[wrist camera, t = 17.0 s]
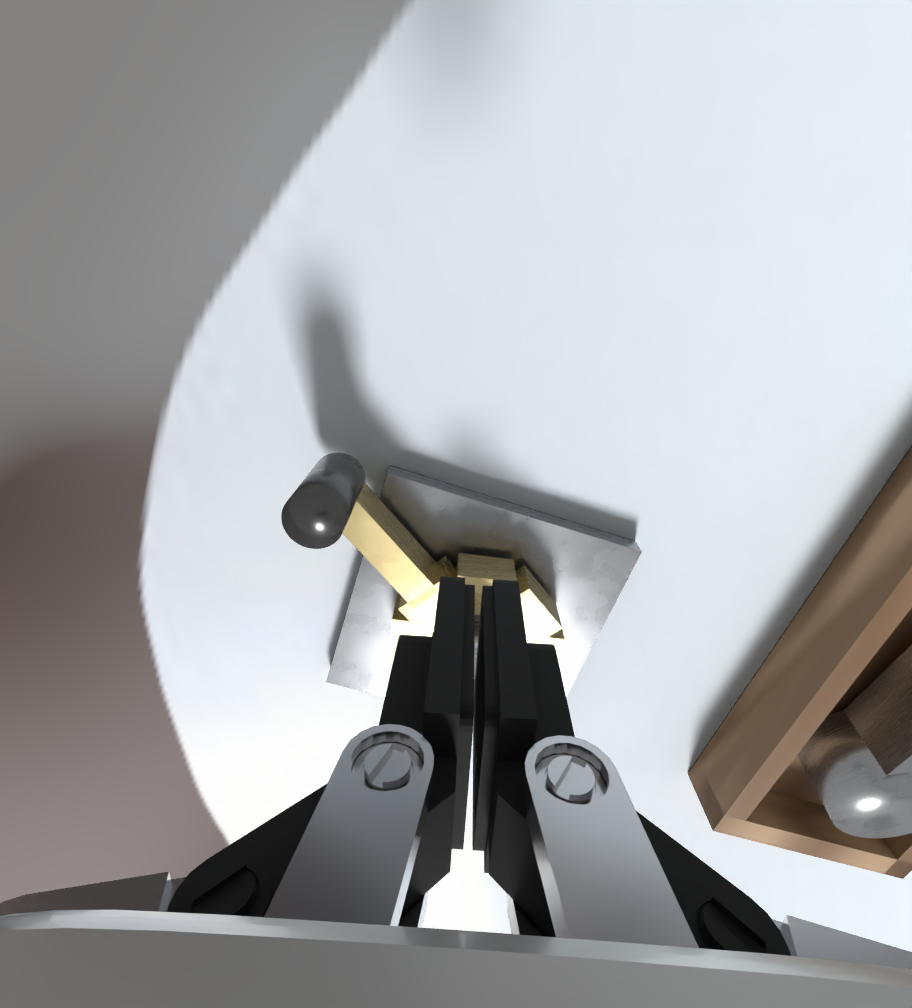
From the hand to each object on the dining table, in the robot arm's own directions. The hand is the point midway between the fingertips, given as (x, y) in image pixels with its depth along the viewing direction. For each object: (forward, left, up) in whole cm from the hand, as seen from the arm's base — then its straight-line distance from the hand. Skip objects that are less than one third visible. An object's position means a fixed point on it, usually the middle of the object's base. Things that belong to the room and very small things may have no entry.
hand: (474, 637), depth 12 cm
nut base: (-3, +8, -13) cm, 16 cm away
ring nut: (0, +6, -12) cm, 13 cm away
